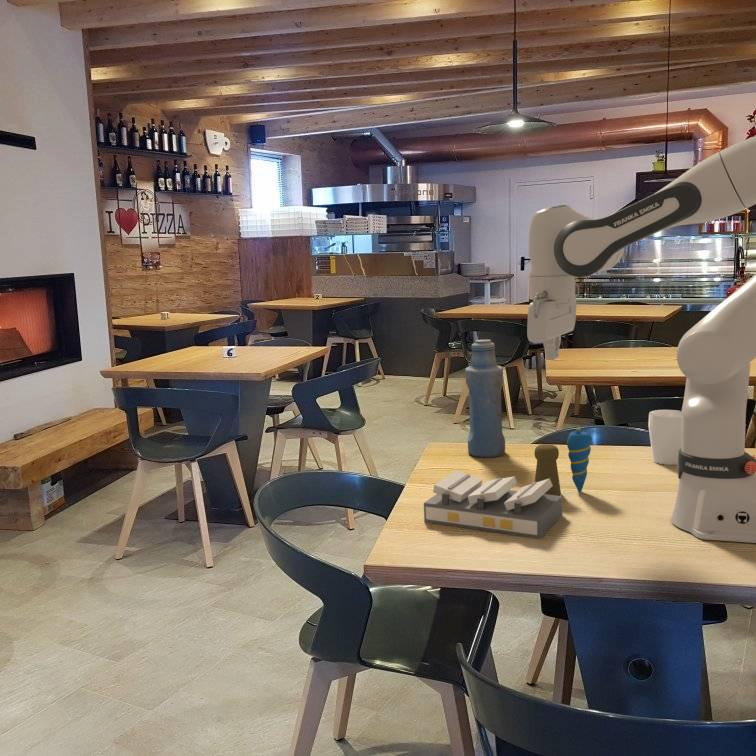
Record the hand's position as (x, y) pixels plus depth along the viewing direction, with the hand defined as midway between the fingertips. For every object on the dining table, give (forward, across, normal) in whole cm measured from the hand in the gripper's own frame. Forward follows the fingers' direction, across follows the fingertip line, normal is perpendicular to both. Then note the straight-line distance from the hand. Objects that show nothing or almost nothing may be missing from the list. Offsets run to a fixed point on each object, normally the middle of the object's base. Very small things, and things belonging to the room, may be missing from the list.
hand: (552, 359), depth 160 cm
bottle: (+31, +35, +29) cm, 55 cm away
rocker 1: (+25, -11, +9) cm, 29 cm away
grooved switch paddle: (+25, -11, +16) cm, 32 cm away
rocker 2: (+25, -11, +1) cm, 27 cm away
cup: (+31, +43, -15) cm, 55 cm away
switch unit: (+31, -11, +9) cm, 34 cm away
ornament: (+31, +12, -2) cm, 34 cm away
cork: (+31, +8, +4) cm, 33 cm away
